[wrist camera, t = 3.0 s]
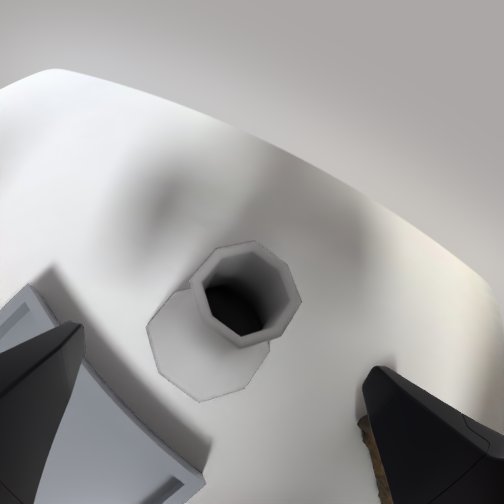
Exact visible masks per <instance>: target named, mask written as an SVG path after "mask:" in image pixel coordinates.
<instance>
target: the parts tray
mask: <svg viewBox="0 0 504 504" xmlns="http://www.w3.org/2000/svg"><path fill="white" fill-rule="evenodd" d="M59 325H60V324H59V322H58V321H57V319H56V318H55V316H54V315H53V313H52V312H51V310H50V308H49V307H48V305H47V304H46V302H45V300H44V299H43V297H42V296H41V294H40V293H39V292H38V291H36V290H35V289H34V288H33V287H32V286H31V285H29V284H27V285H26V286H25V287H24V288H23V289H22V290H21V291H20V292H19V293H17V294H16V295H15V296H14V297H13V298H12V299H11V300H10V301H9V302H8V303H7V304H6V305H5V306H4V307H3V308H2V309H1V310H0V353H1V352H3V351H5V350H8V349H10V348H12V347H14V346H16V345H18V344H20V343H22V342H24V341H27V340H29V339H31V338H33V337H35V336H37V335H39V334H42V333H44V332H46V331H48V330H50V329H52V328H54V327H57V326H59ZM205 485H206V482H205V479H204V477H203V474H202V473H201V472H199V471H198V470H197V469H195V468H194V467H193V466H192V465H190V464H189V463H188V462H187V461H185V460H184V459H183V458H182V457H180V456H179V455H178V454H177V453H176V452H174V451H173V450H172V449H171V448H170V447H169V446H167V445H166V444H165V443H164V442H163V441H162V440H161V439H160V438H158V437H157V436H156V435H155V434H154V433H153V432H152V431H151V430H150V429H149V428H148V427H147V426H146V425H145V424H143V423H142V422H141V421H140V420H139V419H138V418H137V417H136V416H135V415H134V414H133V413H132V412H131V411H130V410H129V409H128V407H127V406H126V405H125V404H124V403H123V402H122V401H121V400H120V399H119V398H118V397H117V396H116V395H115V394H114V392H113V391H112V390H111V389H110V388H109V387H108V386H107V385H106V383H105V382H104V381H103V380H102V379H101V378H100V376H99V375H98V374H97V373H96V372H95V370H94V369H93V368H92V367H91V365H90V364H89V363H88V362H87V360H86V359H85V358H84V357H83V359H82V362H81V366H80V369H79V372H78V375H77V378H76V382H75V385H74V388H73V392H72V395H71V398H70V400H69V403H68V405H67V408H66V410H65V413H64V415H63V418H62V420H61V423H60V425H59V428H58V430H57V433H56V436H55V438H54V441H53V444H52V447H51V449H50V452H49V455H48V458H47V461H46V464H45V467H44V470H43V473H42V477H41V480H40V483H39V487H38V490H37V494H36V497H35V501H34V504H184V503H185V502H186V501H187V500H189V499H190V498H191V497H192V496H193V495H194V494H196V493H197V492H198V491H199V490H200V489H201V488H202V487H204V486H205Z"/></svg>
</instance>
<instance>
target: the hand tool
mask: <svg viewBox="0 0 504 504" xmlns="http://www.w3.org/2000/svg"><path fill="white" fill-rule="evenodd" d="M357 425H358V427H359V428H361V429H362V430H364V431H365V435H364V437H363V442H364V444H366V447H368V448H369V450H370V454H371V457H372V462H373V468H374V472H375V477H376V478H377V481H378V487H379V494H378V496H379V498H380V499H381V504H393V502H392V498H391V494H390V491H389V487H388V483H387V480H386V476H385V473H384V470H383V466H382V463H381V459H380V456H379V453H378V450H377V446H376V443H375V440H374V437H373V434H372V430H371V427H370V423H369V418H368V414H367V415H366V416H364V417H363V418H362V419H360V420H359V421H358V423H357Z"/></svg>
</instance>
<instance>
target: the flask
mask: <svg viewBox="0 0 504 504" xmlns="http://www.w3.org/2000/svg"><path fill="white" fill-rule="evenodd" d="M189 283H190V287H191V288H190V289H186V290H181V291H177V292H174V294H173V295H172V296H171V297H170V298H169V299H168V301H167V302H166V303H165V304H164V305H163V307H162V308H161V309H160V310H159V311H158V313H157V314H156V315H155V316H154V317H153V319H152V320H151V321H150V322H149V323H148V325H147V326H146V330H147V334H148V338H149V341H150V345H151V349H152V352H153V356H154V359H155V363H156V366H157V369H158V373H159V374H160V375H162V376H163V377H164V378H165V379H167V380H168V381H169V382H171V383H172V384H173V385H175V386H176V387H178V388H179V389H180V390H182V391H183V392H184V393H186V394H187V395H189V396H190V397H192V398H193V399H194V400H196V401H197V402H199V403H200V402H203V401H206V400H210V399H213V398H217V397H220V396H223V395H226V394H229V393H232V392H236V391H239V390H242V389H245V387H246V386H247V384H248V383H249V381H250V380H251V378H252V377H253V376H254V374H255V373H256V371H257V370H258V368H259V367H260V365H261V364H262V362H263V361H264V359H265V357H266V356H267V354H268V353H269V351H270V348H269V345H268V342H267V341H269V340H272V339H275V338H278V337H280V336H281V335H282V334H283V332H284V331H285V329H286V327H287V326H288V324H289V323H290V321H291V319H292V318H293V316H294V314H295V313H296V311H297V309H298V308H299V306H300V304H301V303H302V301H301V298H300V295H299V293H298V290H297V288H296V285H295V283H294V280H293V278H292V275H291V273H290V270H289V267H288V265H287V264H286V263H285V262H283V261H282V260H280V259H279V258H278V257H276V256H275V255H274V254H272V253H271V252H270V251H268V250H267V249H265V248H264V247H263V246H261V245H260V244H259V243H257V242H256V241H250V242H245V243H240V244H235V245H230V246H225V247H220V248H216V249H215V250H214V251H213V253H212V254H211V255H210V256H209V257H208V258H207V260H206V261H205V262H204V263H203V264H202V265H201V267H200V268H199V269H198V270H197V271H196V272H195V274H194V275H193V276H192V277H191V278H190V280H189Z"/></svg>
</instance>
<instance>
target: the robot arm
mask: <svg viewBox="0 0 504 504" xmlns="http://www.w3.org/2000/svg"><path fill="white" fill-rule="evenodd" d="M84 353H85V339H84V327H83V325H82V324H81V323H78V322H74V321H67V322H65V323H63V324H61V325H59V326H57V327H54V328H52V329H50V330H48V331H46V332H44V333H42V334H39V335H37V336H35V337H33V338H31V339H29V340H27V341H24V342H22V343H20V344H18V345H16V346H14V347H12V348H10V349H8V350H5V351H3V352H1V353H0V504H34V501H35V497H36V494H37V490H38V487H39V483H40V480H41V477H42V473H43V470H44V467H45V464H46V461H47V458H48V455H49V452H50V449H51V447H52V444H53V441H54V438H55V436H56V433H57V430H58V428H59V425H60V423H61V420H62V418H63V415H64V413H65V410H66V408H67V405H68V403H69V400H70V398H71V395H72V392H73V388H74V385H75V382H76V378H77V375H78V372H79V369H80V366H81V362H82V359H83V356H84ZM362 391H363V395H364V400H365V404H366V409H367V414H368V418H369V423H370V427H371V430H372V434H373V437H374V440H375V443H376V446H377V450H378V453H379V456H380V459H381V463H382V466H383V470H384V473H385V476H386V480H387V483H388V487H389V491H390V494H391V498H392V502H393V504H504V435H502V434H500V433H498V432H496V431H494V430H492V429H490V428H488V427H486V426H484V425H482V424H480V423H478V422H476V421H475V420H473V419H471V418H469V417H468V416H466V415H464V414H463V413H462V414H461V412H459V411H458V410H456V409H454V408H453V407H451V406H449V405H448V404H446V403H444V402H443V401H441V400H440V399H438V398H436V397H435V396H433V395H431V394H430V393H428V392H426V391H425V390H423V389H422V388H420V387H418V386H417V385H415V384H414V383H412V382H410V381H409V380H407V379H406V378H404V377H402V376H401V375H399V374H398V373H396V372H394V371H393V370H391V369H390V368H388V367H386V366H374V367H373V368H372V369H371V371H370V373H369V374H368V376H367V378H366V379H365V381H364V383H363V386H362Z"/></svg>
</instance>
